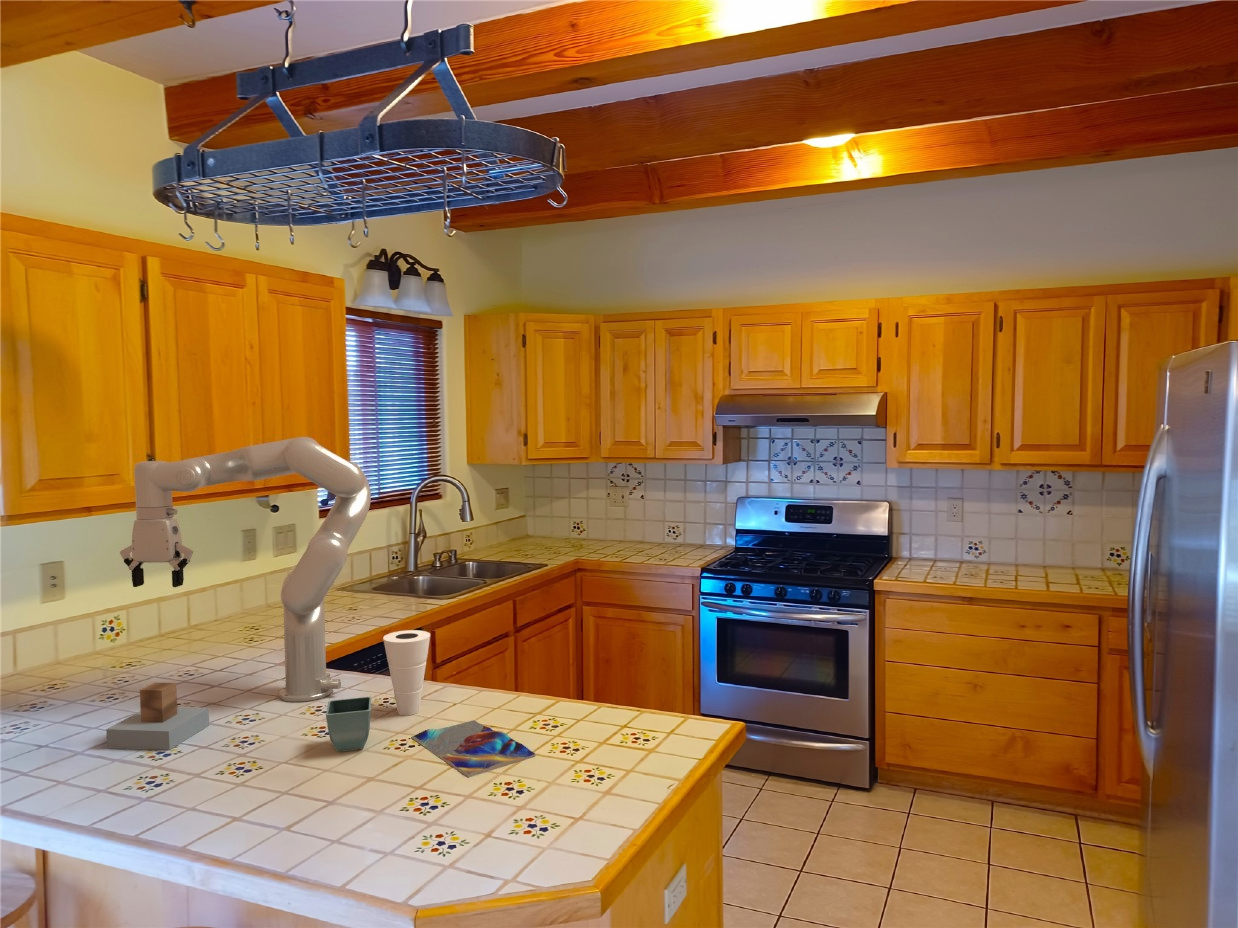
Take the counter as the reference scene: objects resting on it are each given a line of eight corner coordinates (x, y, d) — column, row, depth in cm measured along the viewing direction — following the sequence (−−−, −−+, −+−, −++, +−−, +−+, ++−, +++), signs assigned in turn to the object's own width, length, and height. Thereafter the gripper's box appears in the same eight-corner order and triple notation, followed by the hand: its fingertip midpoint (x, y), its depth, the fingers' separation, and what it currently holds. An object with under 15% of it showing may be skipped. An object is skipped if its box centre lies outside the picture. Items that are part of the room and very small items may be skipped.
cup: (441, 709, 197) (439, 634, 196) (406, 723, 188) (404, 644, 187) (410, 700, 203) (408, 627, 202) (375, 714, 194) (373, 637, 193)
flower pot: (326, 757, 170) (325, 714, 169) (329, 741, 178) (328, 699, 178) (371, 752, 172) (370, 709, 172) (372, 736, 181) (371, 695, 180)
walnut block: (177, 714, 184) (176, 682, 183) (162, 722, 179) (161, 690, 178) (156, 713, 184) (154, 682, 184) (141, 721, 179) (139, 689, 179)
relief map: (411, 740, 180) (410, 731, 180) (474, 724, 189) (473, 715, 189) (468, 780, 160) (468, 770, 160) (535, 759, 170) (535, 749, 169)
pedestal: (209, 725, 188) (208, 707, 188) (169, 749, 174) (168, 731, 174) (150, 723, 189) (150, 705, 189) (107, 747, 175) (106, 729, 175)
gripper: (199, 511, 198) (202, 582, 200) (130, 512, 200) (133, 582, 201) (180, 515, 191) (183, 589, 192) (108, 515, 192) (112, 589, 193)
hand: (158, 586), depth 196 cm, fingers open, 9 cm apart
